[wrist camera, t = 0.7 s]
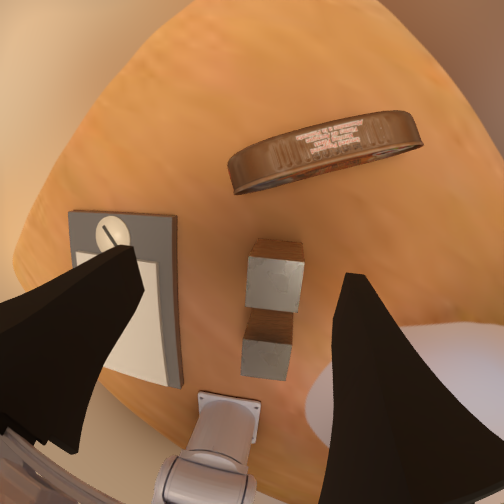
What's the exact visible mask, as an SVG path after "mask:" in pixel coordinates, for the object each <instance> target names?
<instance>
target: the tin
mask: <svg viewBox="0 0 504 504" xmlns="http://www.w3.org/2000/svg"><path fill="white" fill-rule="evenodd" d="M422 146H424V144H423V142H422V141H421V138H420V135H419V132H418V129H417V127H416V124H415V121H414V119H413V117H412V116H411V114H410V113H408V112H405V111H398V110H393V111H381V112H375V113H369V114H363V115H358V116H353V117H348V118H344V119H339V120H334V121H330V122H326V123H322V124H318V125H314V126H310V127H306V128H303V129H299V130H295V131H292V132H288V133H285V134H282V135H278V136H275V137H272V138H269V139H266V140H263V141H261V142H258V143H256V144H253V145H251V146H249V147H246V148H245V149H243V150H241V151H239V152H238V153H236V154H235V155H234V156H232V157H231V158H230V159H229V161H228V165H227V166H228V171H229V175H230V178H231V182H232V185H233V188H234V192H233V193H234V195H242V194H247V193H251V192H256V191H261V190H265V189H269V188H273V187H277V186H280V185H283V184H287V183H291V182H295V181H298V180H302V179H306V178H309V177H313V176H317V175H320V174H324V173H328V172H332V171H336V170H340V169H344V168H348V167H352V166H356V165H360V164H364V163H369V162H372V161H376V160H380V159H384V158H388V157H391V156H395V155H399V154H401V153H405V152H408V151H411V150H414V149H417V148H420V147H422Z"/></svg>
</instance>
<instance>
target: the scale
mask: <svg viewBox="0 0 504 504" xmlns="http://www.w3.org/2000/svg"><path fill="white" fill-rule="evenodd" d="M68 220H69V236H70V247H71V257H72V266H73V268H75V267H77V266H78V265H80V264H82V263H84V262H86V261H87V260H89V259H91V258H93V257H95V256H97V255H98V254H100V253H102V252H104V251H106V250H108V249H111V248H113V247H115V246H118V245H120V244H121V245H128V246H134V251H135V255H136V259H137V263H138V267H139V270H140V274H141V278H142V281H143V285H144V289H145V291H144V294H143V296H142V298H141V301H140V303H139V305H138V307H137V309H136V311H135V313H134V315H133V317H132V318H131V320H130V322H129V323H128V325H127V326H126V328H125V330H124V331H123V333H122V335H121V336H120V338H119V339H118V341H117V343H116V344H115V346H114V348H113V349H112V351H111V353H110V354H109V356H108V358H107V360H106V362H105V363H104V365H103V367H106V368H109V369H112V370H115V371H117V372H120V373H123V374H126V375H129V376H133V377H136V378H139V379H142V380H145V381H149V382H152V383H156V384H159V385H163V386H167V387H168V386H170V387H174V388H178V389H181V388H182V386H183V384H184V381H183V370H182V359H181V346H180V331H179V313H178V287H177V216H175V215H160V214H144V213H126V212H106V211H82V210H73V211H69V212H68Z"/></svg>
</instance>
